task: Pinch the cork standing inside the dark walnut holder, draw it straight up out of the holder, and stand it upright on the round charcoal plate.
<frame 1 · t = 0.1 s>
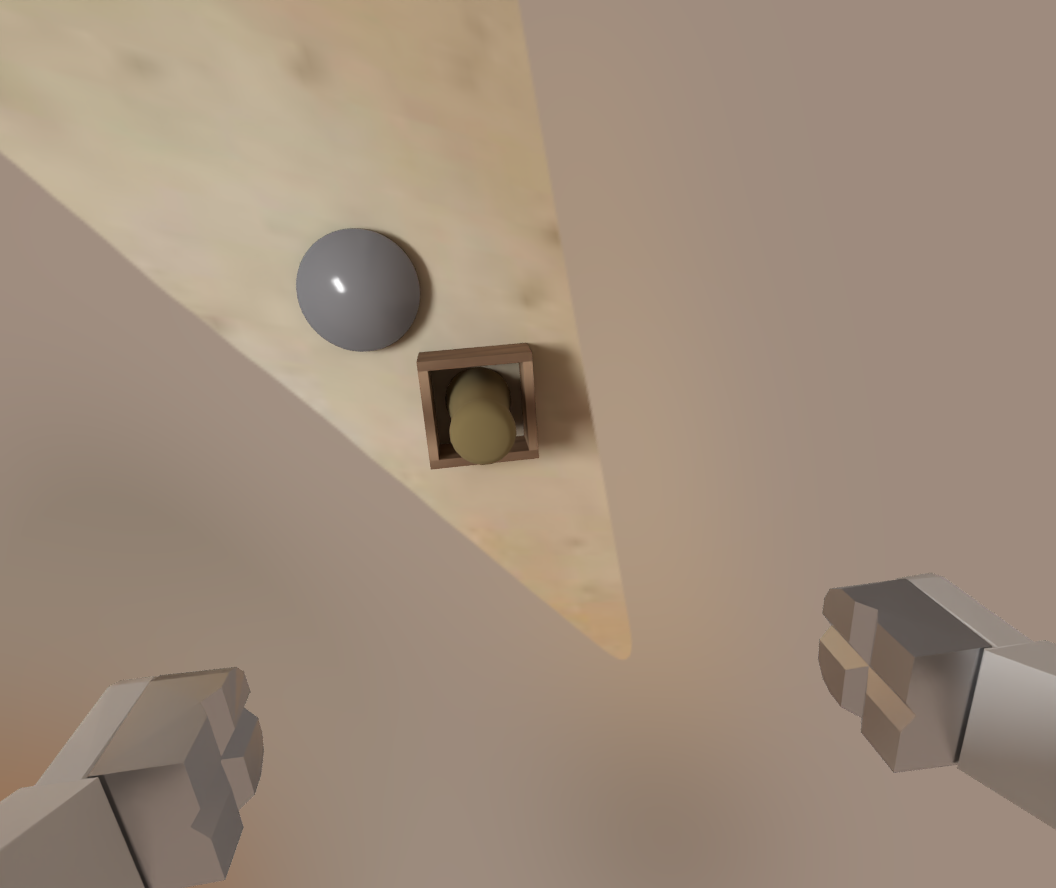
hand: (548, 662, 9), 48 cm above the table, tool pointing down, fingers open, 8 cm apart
walnut holder: (478, 399, 57), on the table
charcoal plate: (360, 290, 52), on the table
cork: (478, 398, 57), resting in walnut holder
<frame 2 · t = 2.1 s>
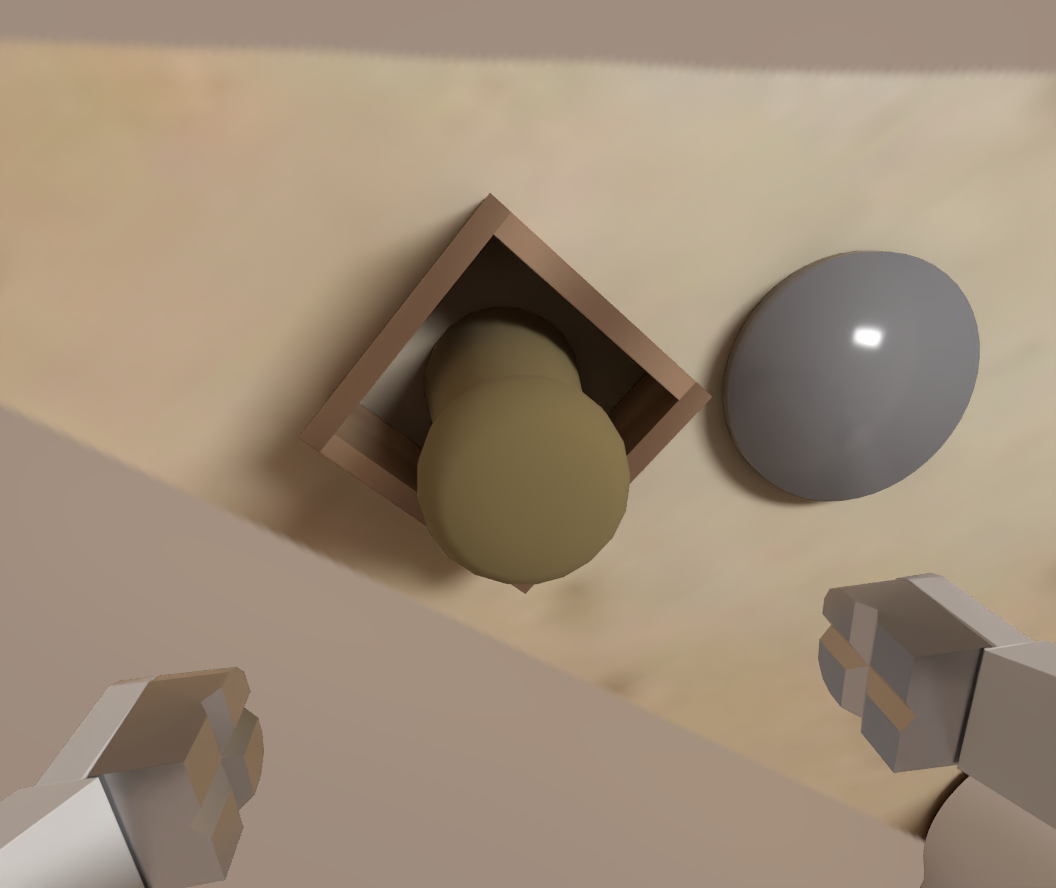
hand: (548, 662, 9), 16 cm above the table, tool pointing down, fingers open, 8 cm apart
walnut holder: (502, 386, 24), on the table
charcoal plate: (842, 379, 25), on the table
cork: (502, 384, 24), resting in walnut holder
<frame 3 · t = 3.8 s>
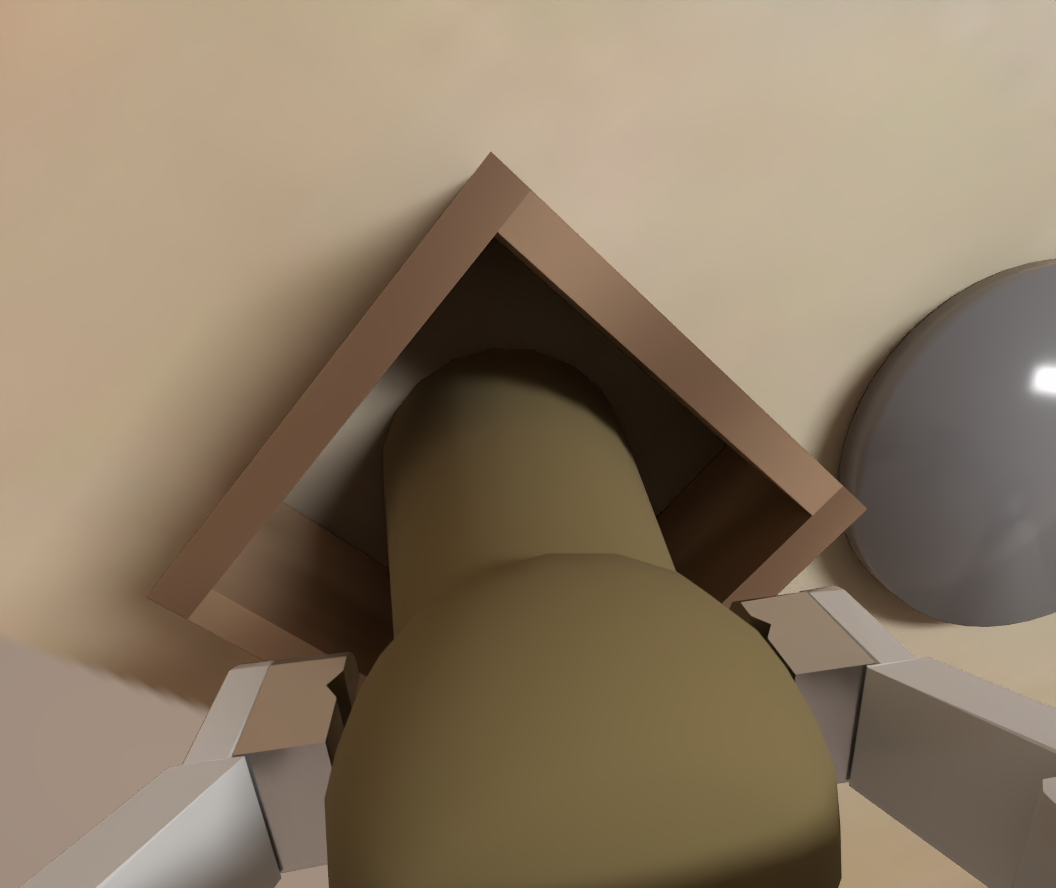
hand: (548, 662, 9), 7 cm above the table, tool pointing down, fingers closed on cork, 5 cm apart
walnut holder: (506, 469, 15), on the table
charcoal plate: (1013, 449, 17), on the table
cork: (505, 465, 15), resting in walnut holder, touching gripper
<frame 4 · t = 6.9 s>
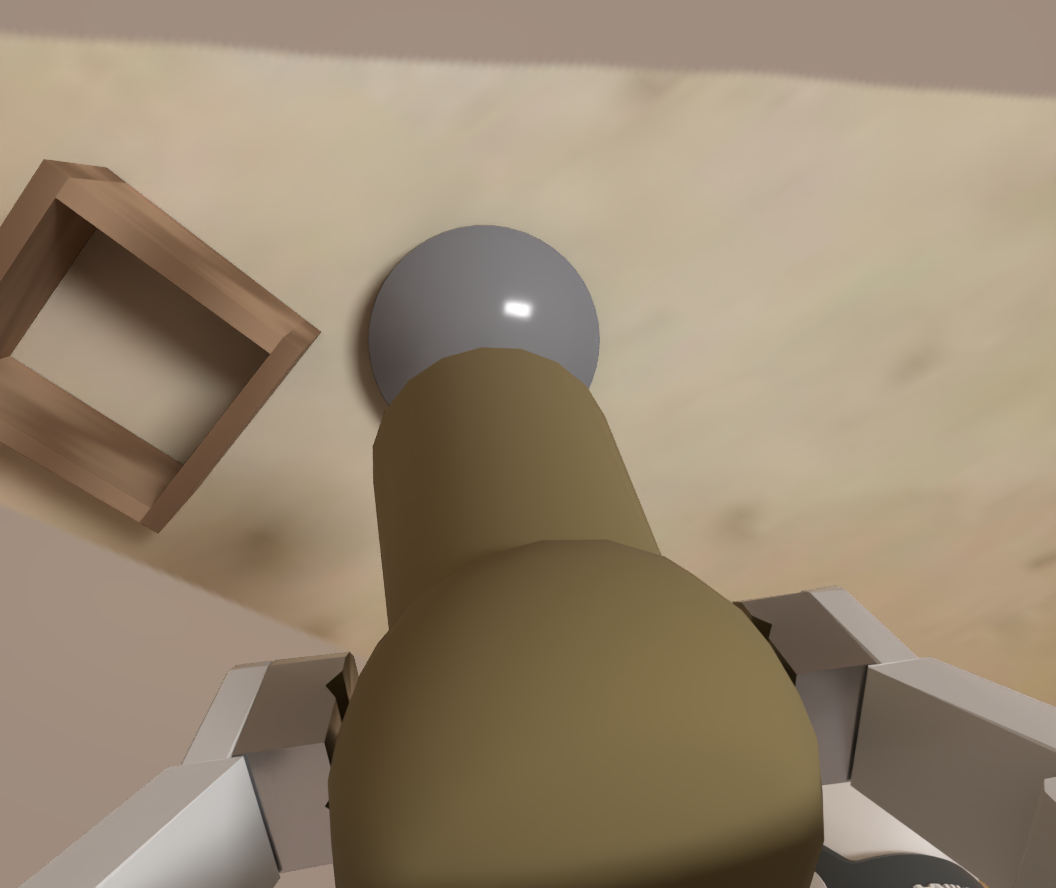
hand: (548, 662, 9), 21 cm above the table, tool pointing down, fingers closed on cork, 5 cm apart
walnut holder: (155, 344, 26), on the table
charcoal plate: (485, 343, 28), on the table
cork: (494, 463, 16), point 13 cm above the table, touching gripper
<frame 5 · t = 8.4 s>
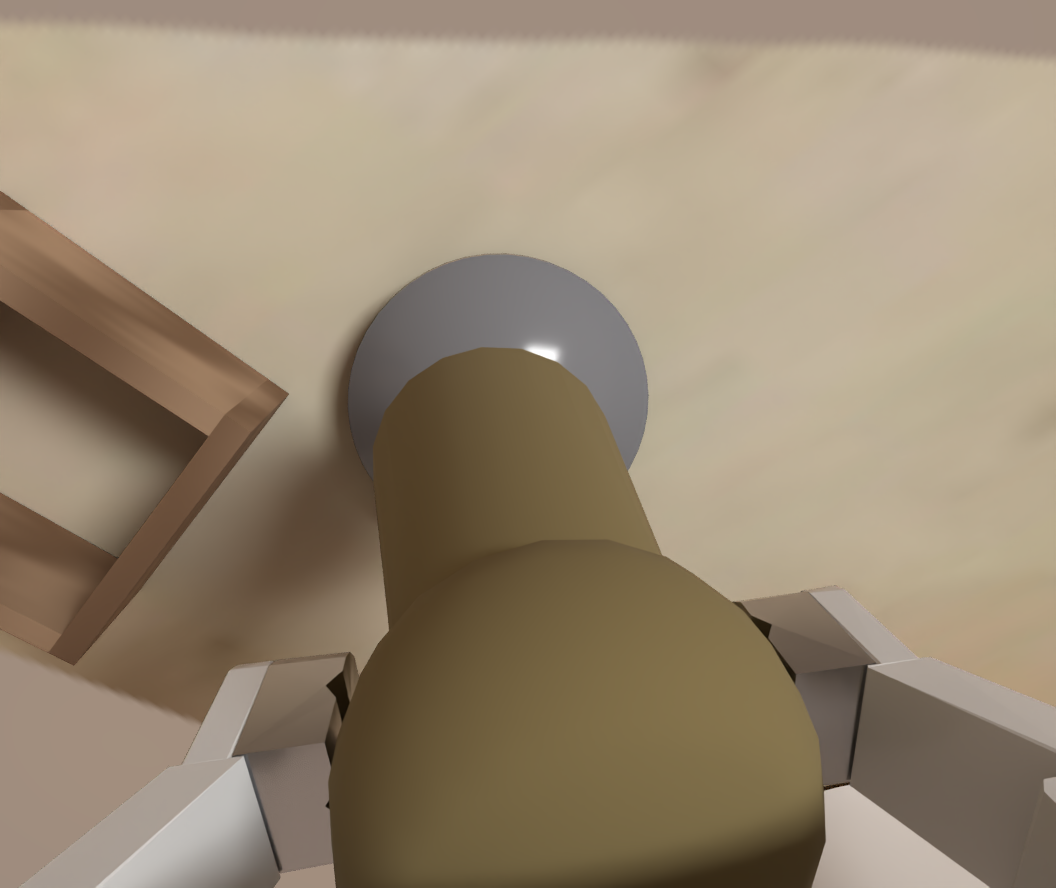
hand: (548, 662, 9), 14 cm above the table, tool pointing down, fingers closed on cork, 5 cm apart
walnut holder: (77, 414, 20), on the table
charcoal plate: (500, 403, 22), on the table
cork: (494, 463, 16), point 6 cm above the table, touching gripper
when the fingers open (10 cm above the table, at t = 10.0 s): cork drops 1 cm, resting on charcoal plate.
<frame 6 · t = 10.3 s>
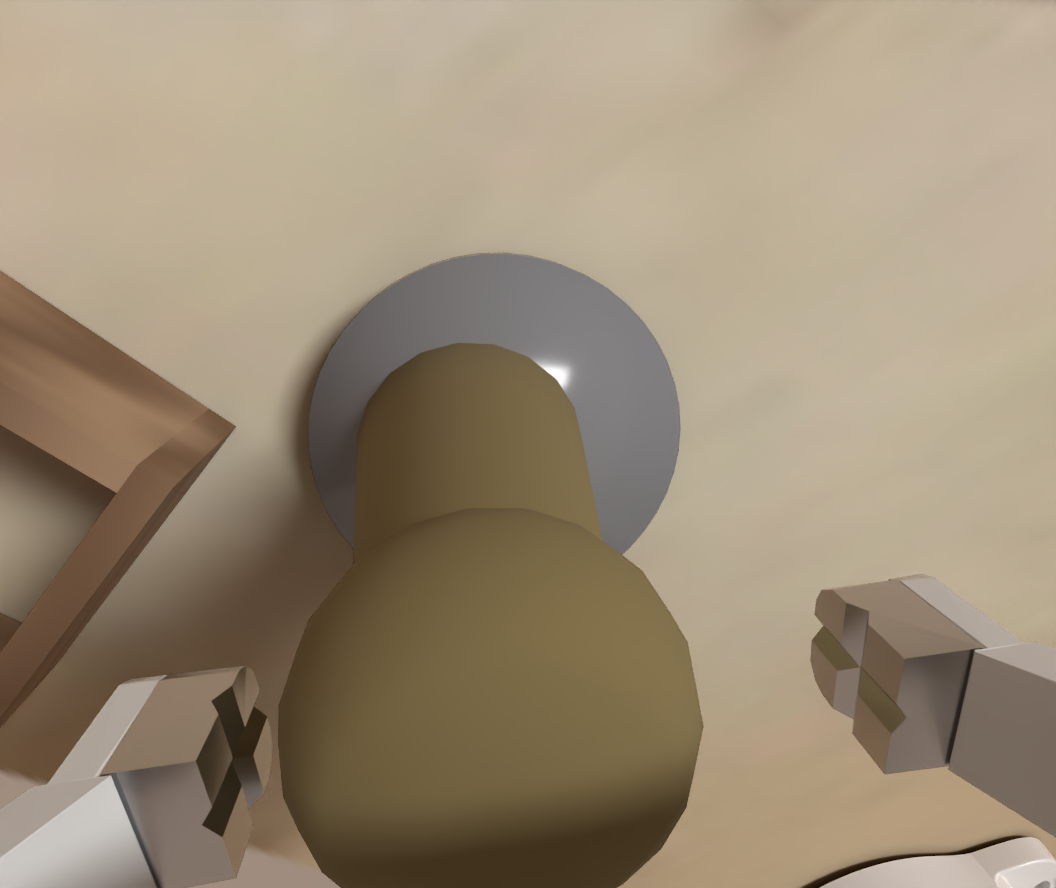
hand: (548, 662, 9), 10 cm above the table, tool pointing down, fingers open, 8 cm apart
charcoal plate: (497, 436, 18), on the table
cork: (471, 451, 17), point 1 cm above the table, touching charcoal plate
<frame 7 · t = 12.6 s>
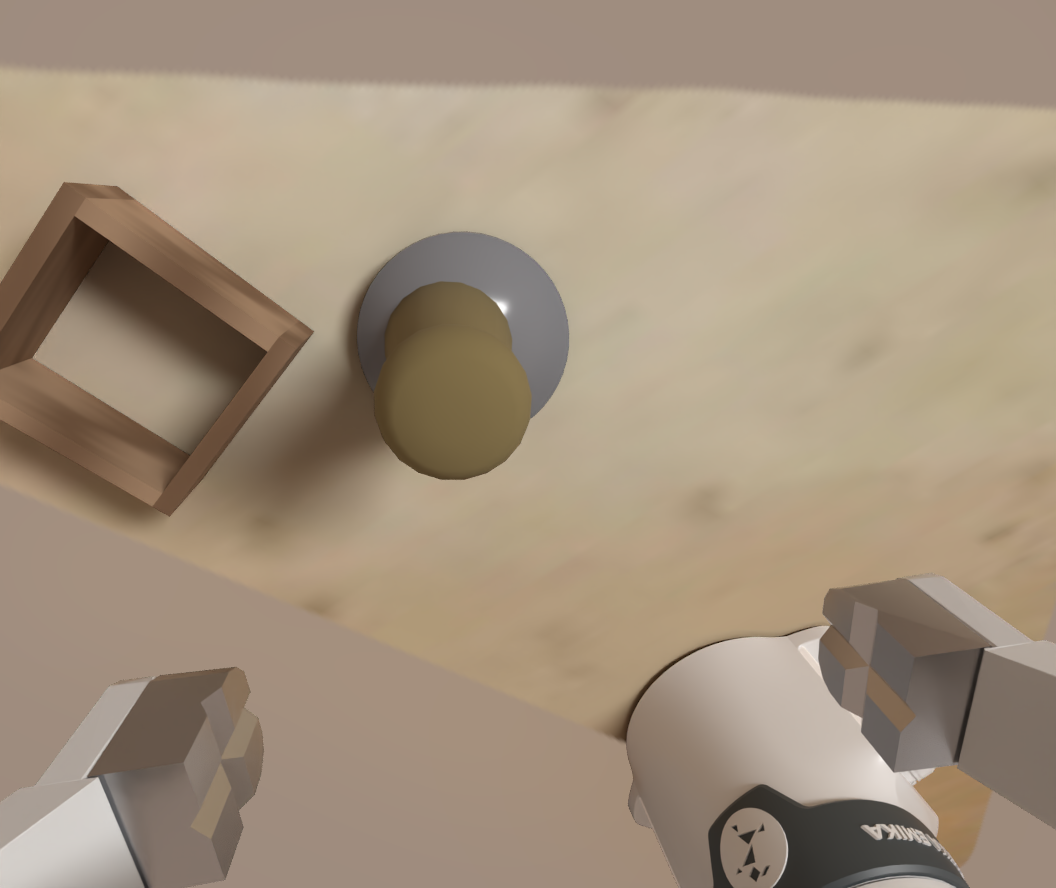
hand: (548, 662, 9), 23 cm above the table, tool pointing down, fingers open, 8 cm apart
walnut holder: (163, 345, 28), on the table
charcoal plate: (464, 339, 30), on the table
cork: (449, 345, 29), point 1 cm above the table, touching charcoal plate
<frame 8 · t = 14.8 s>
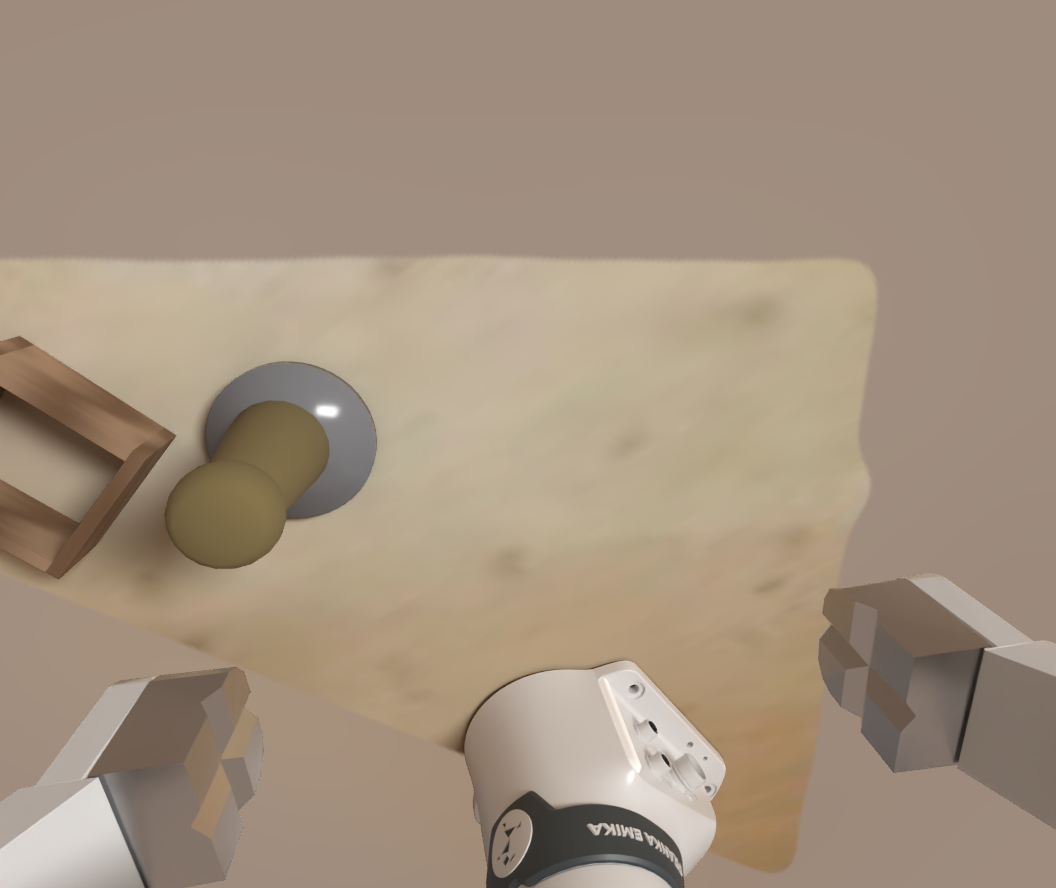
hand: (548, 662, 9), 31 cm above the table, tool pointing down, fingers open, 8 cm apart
walnut holder: (60, 447, 37), on the table
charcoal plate: (295, 439, 39), on the table
cork: (280, 446, 38), point 1 cm above the table, touching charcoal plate
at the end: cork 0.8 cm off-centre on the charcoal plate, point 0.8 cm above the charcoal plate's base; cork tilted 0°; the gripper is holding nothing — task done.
